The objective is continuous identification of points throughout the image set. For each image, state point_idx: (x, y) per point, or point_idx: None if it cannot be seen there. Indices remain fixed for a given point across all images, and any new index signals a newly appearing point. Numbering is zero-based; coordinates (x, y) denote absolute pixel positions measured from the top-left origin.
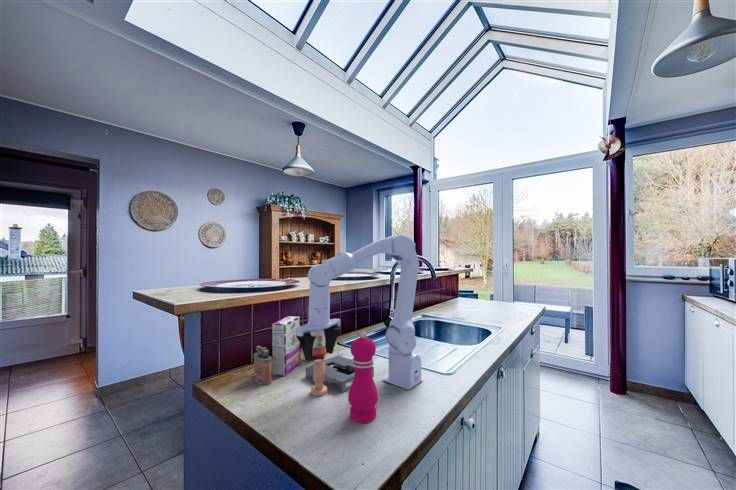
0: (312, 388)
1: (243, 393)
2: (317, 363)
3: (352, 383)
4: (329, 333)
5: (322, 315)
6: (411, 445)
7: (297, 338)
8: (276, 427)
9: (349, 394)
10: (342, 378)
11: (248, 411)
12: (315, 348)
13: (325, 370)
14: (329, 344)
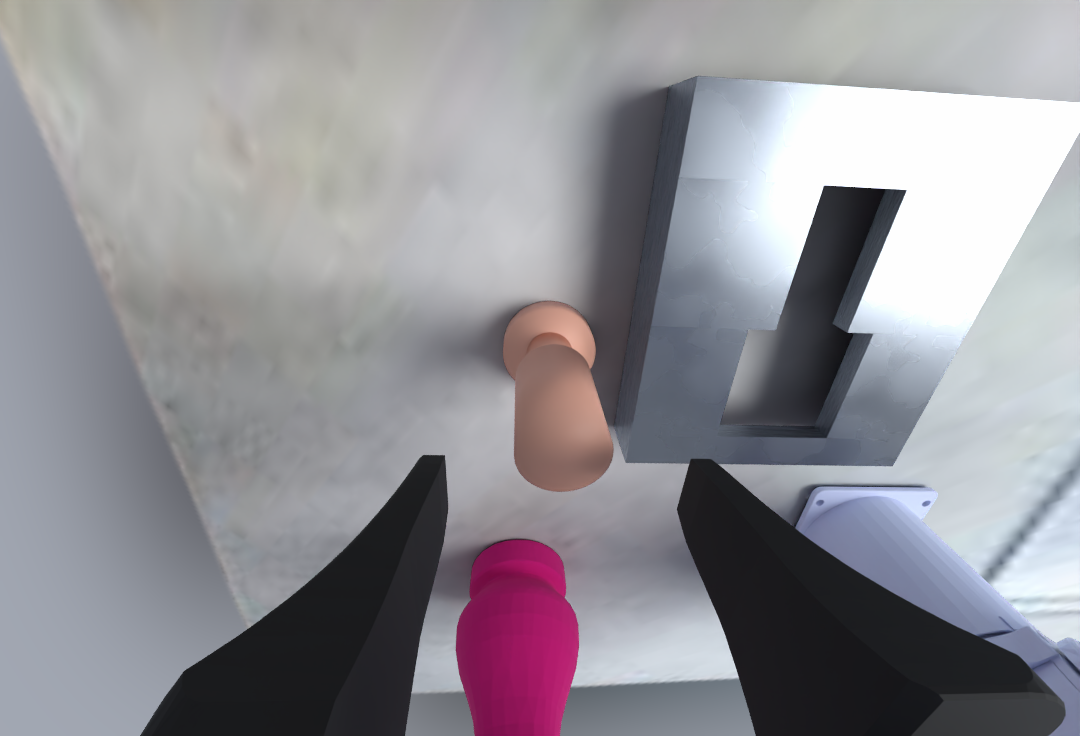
0: (524, 326)
1: None
2: (521, 473)
3: (477, 688)
4: (793, 707)
5: None
6: None
7: (217, 654)
8: (225, 422)
9: (463, 641)
10: (663, 438)
11: (131, 200)
12: None
13: (719, 276)
14: (721, 562)
